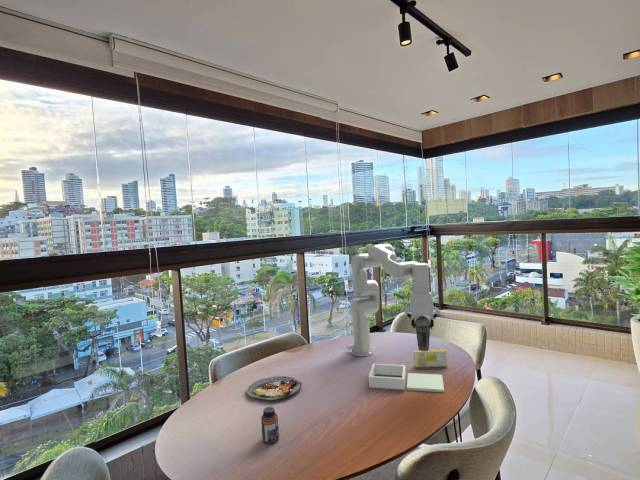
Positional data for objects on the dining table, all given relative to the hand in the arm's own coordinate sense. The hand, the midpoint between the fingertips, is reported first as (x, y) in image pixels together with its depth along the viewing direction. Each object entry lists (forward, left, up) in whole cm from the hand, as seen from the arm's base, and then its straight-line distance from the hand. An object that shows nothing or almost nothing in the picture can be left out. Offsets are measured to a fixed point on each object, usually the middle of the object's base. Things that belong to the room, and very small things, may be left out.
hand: (422, 327), depth 167 cm
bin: (-17, 0, -26) cm, 31 cm away
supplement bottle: (-54, -55, -27) cm, 82 cm away
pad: (0, 0, -26) cm, 26 cm away
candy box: (+3, +21, -27) cm, 34 cm away
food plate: (-68, -18, -27) cm, 75 cm away
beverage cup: (0, 0, -11) cm, 11 cm away
